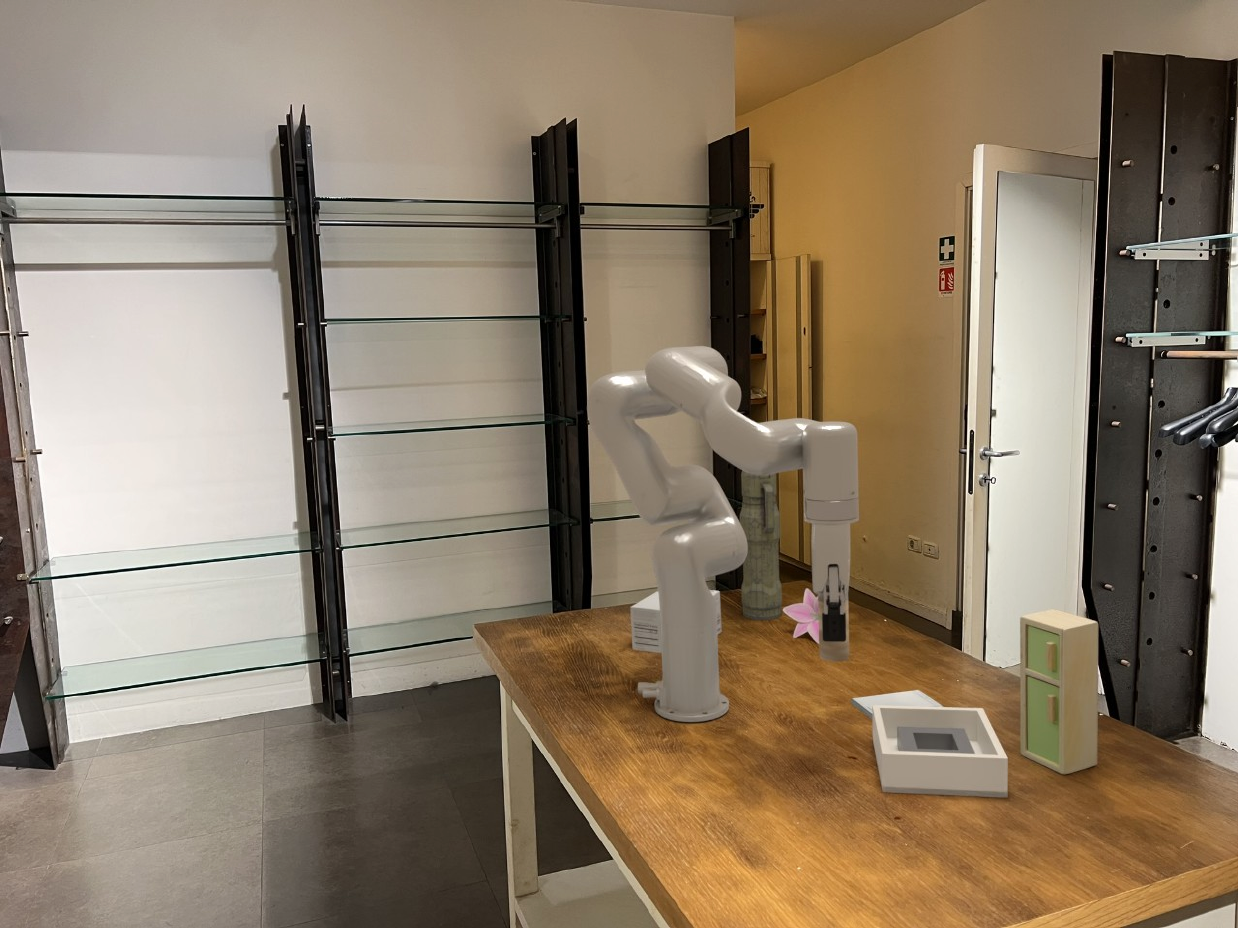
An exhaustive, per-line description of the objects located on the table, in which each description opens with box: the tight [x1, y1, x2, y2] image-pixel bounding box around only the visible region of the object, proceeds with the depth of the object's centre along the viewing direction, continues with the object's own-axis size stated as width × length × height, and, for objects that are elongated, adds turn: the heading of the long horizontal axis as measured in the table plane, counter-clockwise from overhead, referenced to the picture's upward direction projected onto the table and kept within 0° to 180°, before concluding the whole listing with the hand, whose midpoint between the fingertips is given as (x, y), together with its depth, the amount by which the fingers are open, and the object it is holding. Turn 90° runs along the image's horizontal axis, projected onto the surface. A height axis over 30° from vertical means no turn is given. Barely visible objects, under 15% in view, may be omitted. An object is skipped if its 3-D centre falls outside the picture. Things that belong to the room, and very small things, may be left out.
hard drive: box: [850, 689, 944, 721], centre depth 156 cm, size 2×8×12 cm
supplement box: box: [629, 589, 722, 654], centre depth 195 cm, size 17×13×9 cm
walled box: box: [872, 705, 1009, 799], centre depth 134 cm, size 16×17×6 cm
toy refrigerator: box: [1019, 608, 1099, 775], centre depth 133 cm, size 8×7×21 cm
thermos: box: [739, 470, 783, 621], centre depth 209 cm, size 9×12×35 cm
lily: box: [782, 588, 819, 645], centre depth 194 cm, size 12×12×10 cm
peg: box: [817, 588, 850, 663], centre depth 134 cm, size 4×4×10 cm
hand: (833, 634), depth 134 cm, fingers closed on peg, 4 cm apart
